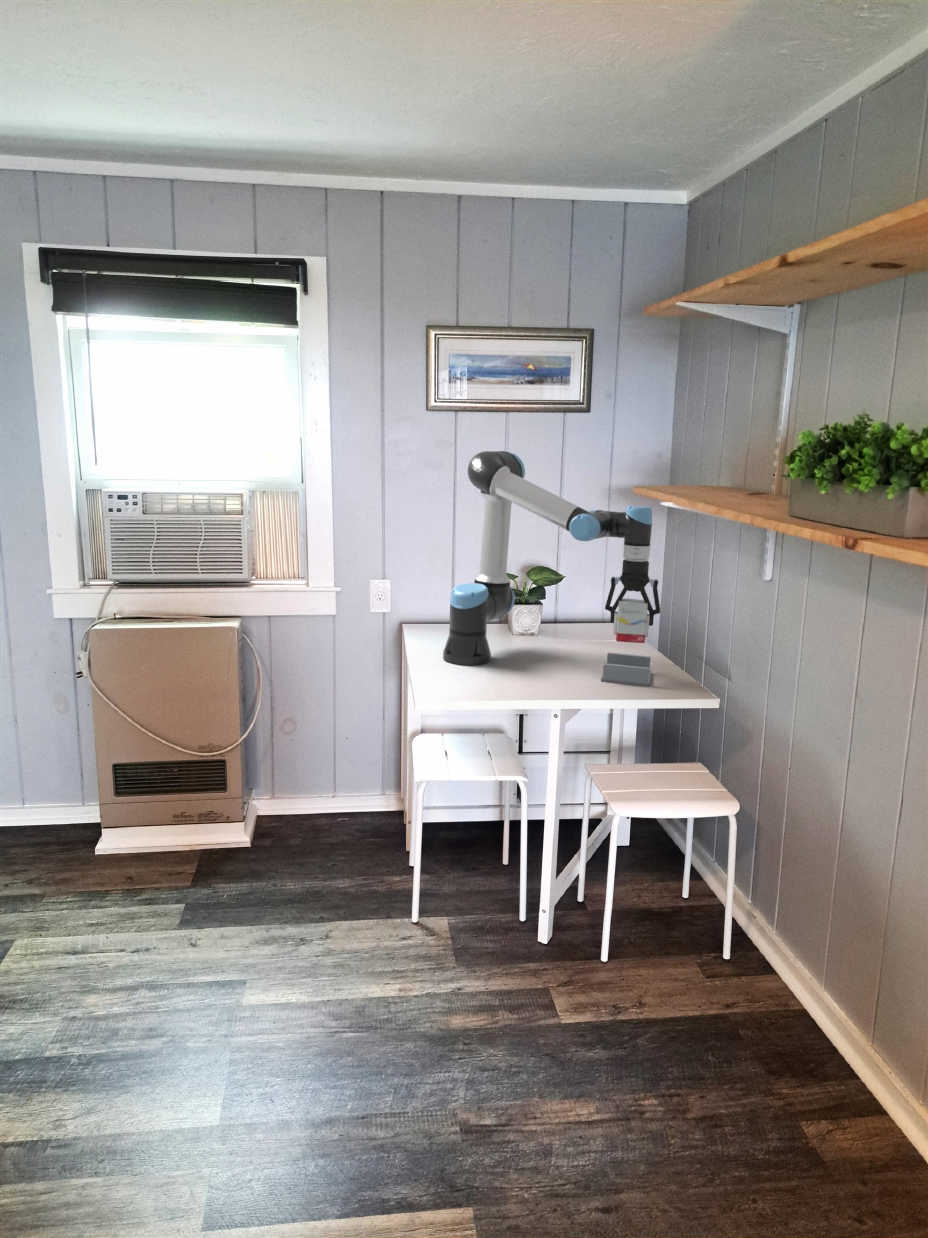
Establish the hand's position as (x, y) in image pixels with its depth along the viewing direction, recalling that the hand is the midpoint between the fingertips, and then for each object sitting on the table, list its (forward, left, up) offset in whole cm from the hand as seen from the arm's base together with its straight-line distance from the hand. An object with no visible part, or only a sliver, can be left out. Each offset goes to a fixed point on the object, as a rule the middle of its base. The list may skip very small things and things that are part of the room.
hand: (630, 634), depth 250 cm
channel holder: (0, 0, -13) cm, 13 cm away
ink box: (0, 0, -2) cm, 2 cm away
